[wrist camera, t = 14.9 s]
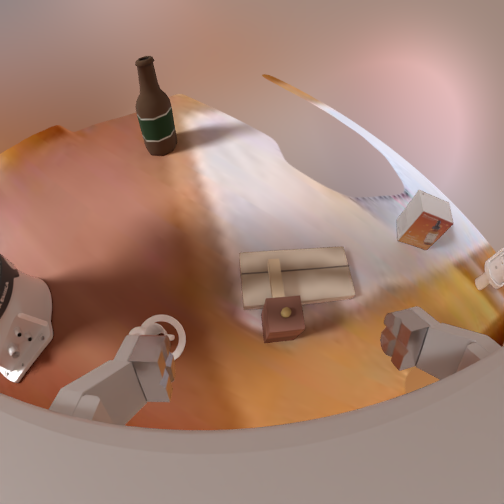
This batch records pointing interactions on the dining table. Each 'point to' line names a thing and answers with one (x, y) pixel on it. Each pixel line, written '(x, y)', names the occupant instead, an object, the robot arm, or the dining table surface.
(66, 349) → the dining table surface
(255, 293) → the ash board
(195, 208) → the dining table surface
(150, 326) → the white curved piece
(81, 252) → the dining table surface
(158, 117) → the beer bottle
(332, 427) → the robot arm
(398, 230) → the small box
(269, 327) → the block
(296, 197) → the dining table surface
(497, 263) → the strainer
